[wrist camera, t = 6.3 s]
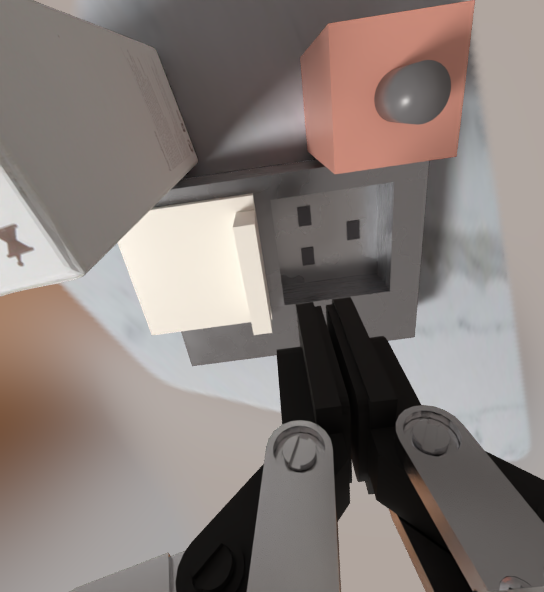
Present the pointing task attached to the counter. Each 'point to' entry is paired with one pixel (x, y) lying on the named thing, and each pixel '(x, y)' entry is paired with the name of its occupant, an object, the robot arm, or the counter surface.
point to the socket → (322, 248)
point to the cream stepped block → (199, 266)
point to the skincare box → (78, 142)
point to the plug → (387, 88)
